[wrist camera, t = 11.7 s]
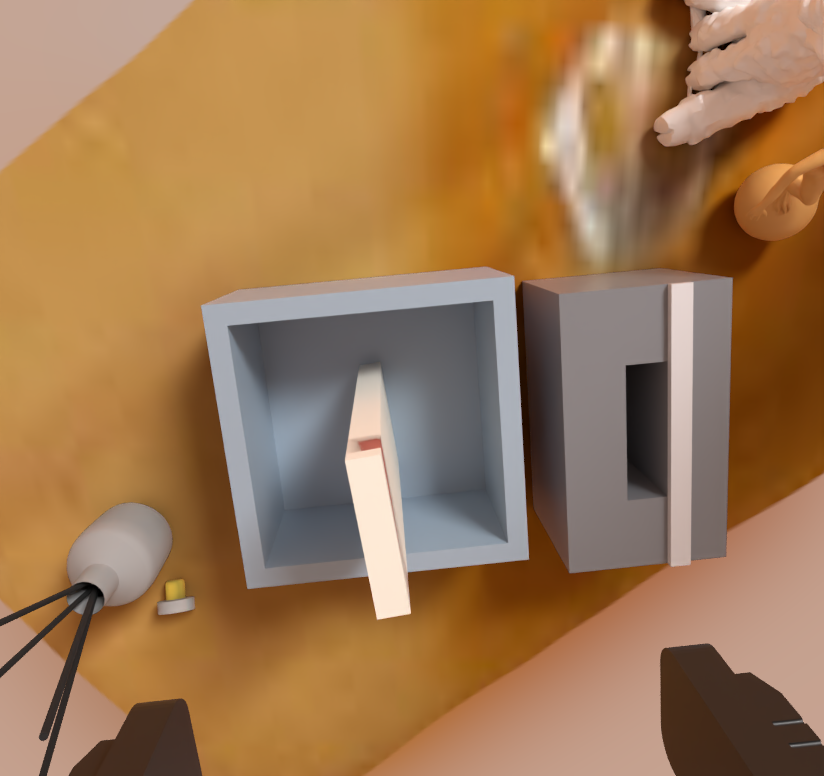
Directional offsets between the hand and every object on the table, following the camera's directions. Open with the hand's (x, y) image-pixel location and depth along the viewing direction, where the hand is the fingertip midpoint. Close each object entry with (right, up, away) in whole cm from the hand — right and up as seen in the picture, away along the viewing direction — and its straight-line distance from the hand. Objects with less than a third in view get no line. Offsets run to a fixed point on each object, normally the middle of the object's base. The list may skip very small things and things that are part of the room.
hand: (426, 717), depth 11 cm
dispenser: (+11, +5, +28) cm, 31 cm away
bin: (-2, +5, +28) cm, 28 cm away
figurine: (+19, +17, +26) cm, 36 cm away
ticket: (-2, +4, +27) cm, 27 cm away
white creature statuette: (+17, +23, +25) cm, 38 cm away
